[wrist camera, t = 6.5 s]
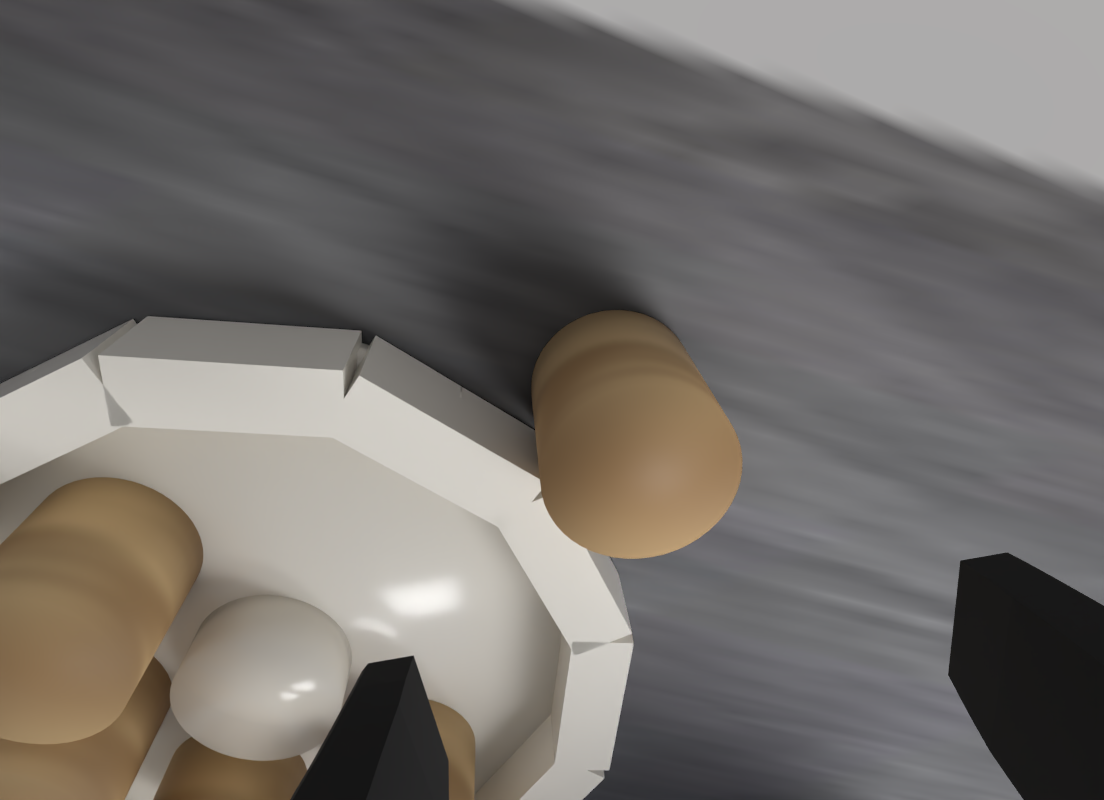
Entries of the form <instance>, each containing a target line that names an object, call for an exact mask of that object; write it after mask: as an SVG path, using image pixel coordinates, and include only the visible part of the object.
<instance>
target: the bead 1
mask: <svg viewBox="0 0 1104 800" xmlns="http://www.w3.org/2000/svg"><path fill="white" fill-rule="evenodd" d="M429 703H430V706H431V709H432V712H433V715H434V718H435V721H436V724H437V727H438V730H439V733H440V736H441V739H442V742H443V745H444V748H445V751H446V754H447V757H448V760H449V800H474V788H475V736H474V732H473V730H472V728H471V726H470V725H469V723H468V722H467V721H466V720H465V718H464V717H463V716H462V715H460V714H459V713H458V712H457V711H455V710H453V709H452V708H450V707H448V706H446V705H444V704H442V703H439V702H436V701H432V700H429Z"/></svg>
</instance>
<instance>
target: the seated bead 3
mask: <svg viewBox="0 0 1104 800" xmlns="http://www.w3.org/2000/svg"><path fill="white" fill-rule="evenodd" d="M306 772H307V767H306V765H305V762H304V760H303V759H302V757H301V756H300V755H297V756H294V757H290V758H286V759H280V760H270V761H257V760H246V759H240V758H235V757H231V756H228V755H225V754H222V753H219V752H217V751H214V750H212V749H210V748H208V747H206V746H204V745H203V744H201V743H200V742H198V741H197V740H195V739H194V738H193V737H190V738H189V739H187V740H186V741H185V742H183V743H182V744H181V745H180V746H179V747H178V749H177V750H176V751H175V753H174V755H173V757H172V759H171V761H170V763H169V765H168V768H167V770H166V772H165V774H164V776H163V779H162V781H161V783H160V785H159V787H158V790H157V792H156V794H155V796H154V799H153V800H290V799H291V797H292V795H293V794H294V792H295V790H296V789H297V787H298V785H299V784H300V782H301V780H302V779H303V777H304V775H305V773H306Z"/></svg>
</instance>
